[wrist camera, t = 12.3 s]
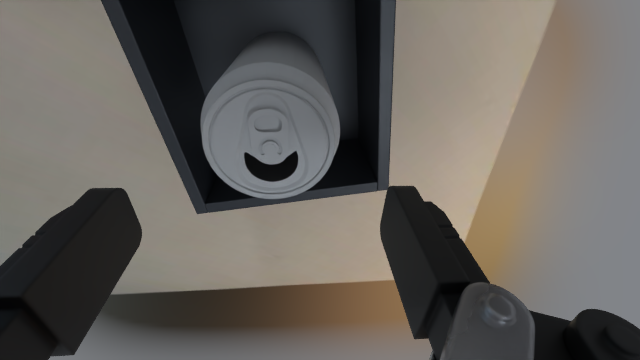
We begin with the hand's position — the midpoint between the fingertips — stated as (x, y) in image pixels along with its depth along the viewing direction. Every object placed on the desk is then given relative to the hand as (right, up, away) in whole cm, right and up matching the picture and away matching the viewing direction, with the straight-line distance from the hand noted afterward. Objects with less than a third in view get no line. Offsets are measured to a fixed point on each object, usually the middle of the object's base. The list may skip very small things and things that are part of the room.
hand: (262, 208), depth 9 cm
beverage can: (-1, +9, +13) cm, 16 cm away
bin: (-1, +9, +14) cm, 17 cm away
